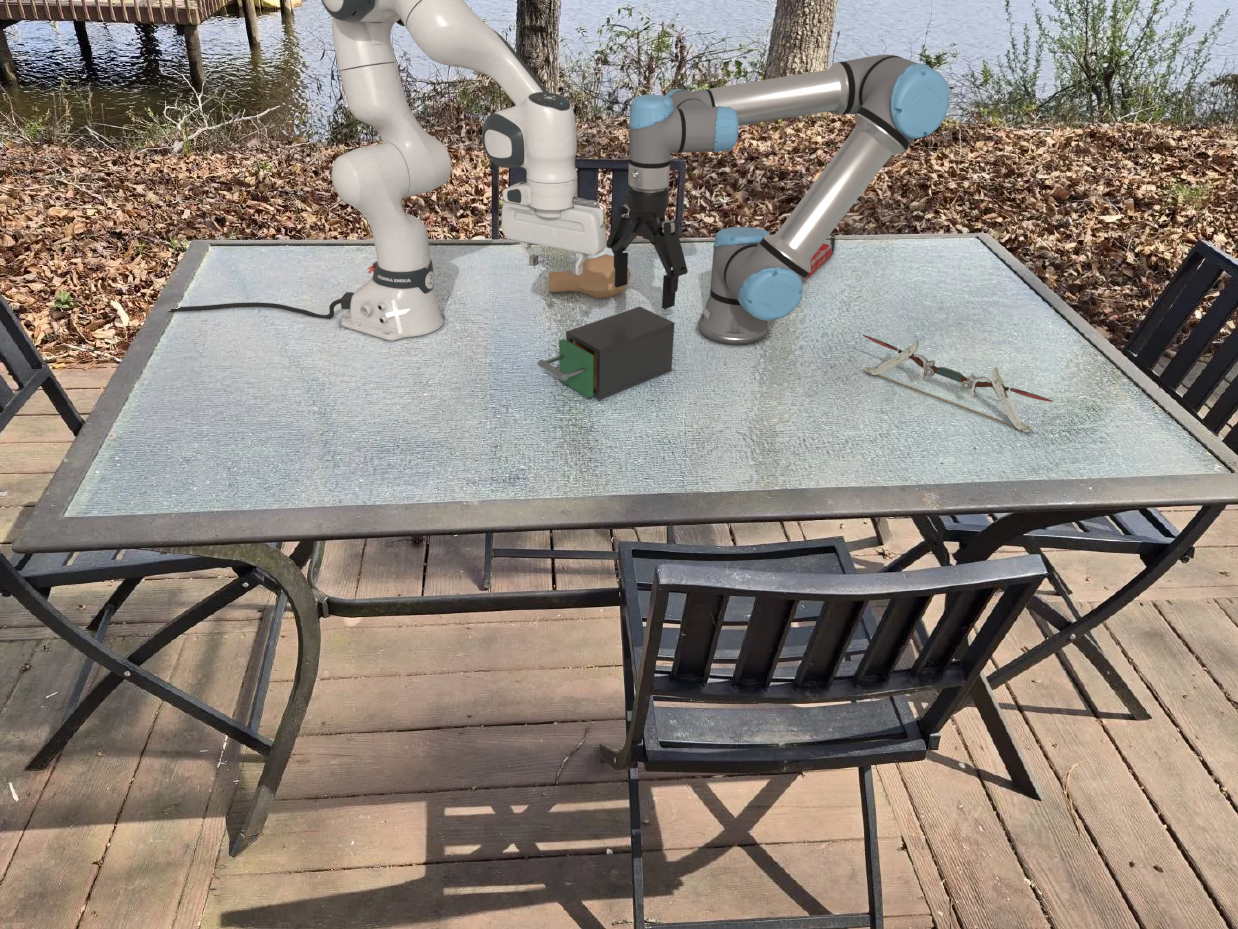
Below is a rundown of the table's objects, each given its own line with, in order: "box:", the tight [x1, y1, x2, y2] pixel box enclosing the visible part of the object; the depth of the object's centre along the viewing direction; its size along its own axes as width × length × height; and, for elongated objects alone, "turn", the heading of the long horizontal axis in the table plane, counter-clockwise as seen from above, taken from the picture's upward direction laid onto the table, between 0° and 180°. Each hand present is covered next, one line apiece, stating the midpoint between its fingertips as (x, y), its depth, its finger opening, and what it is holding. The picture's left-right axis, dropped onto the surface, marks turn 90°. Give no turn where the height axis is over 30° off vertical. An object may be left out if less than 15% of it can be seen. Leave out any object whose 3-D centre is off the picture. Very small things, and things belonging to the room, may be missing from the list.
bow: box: [862, 334, 1055, 433], centre depth 169 cm, size 39×2×10 cm, turn 47°
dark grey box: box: [565, 306, 676, 401], centre depth 175 cm, size 19×10×11 cm, turn 131°
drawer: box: [537, 338, 597, 399], centre depth 171 cm, size 24×9×9 cm, turn 131°
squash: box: [547, 253, 631, 299], centre depth 210 cm, size 11×20×9 cm, turn 90°
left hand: (554, 269), depth 161 cm, fingers open, 8 cm apart
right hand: (643, 296), depth 172 cm, fingers open, 13 cm apart
